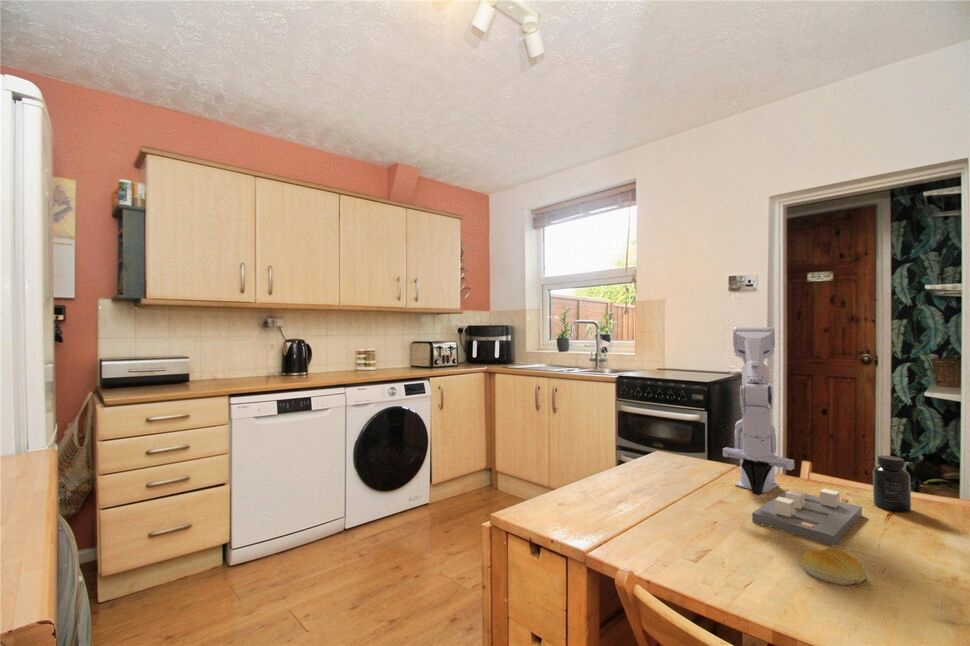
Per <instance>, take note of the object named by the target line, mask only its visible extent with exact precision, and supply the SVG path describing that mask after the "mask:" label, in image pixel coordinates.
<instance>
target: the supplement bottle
mask: <svg viewBox="0 0 970 646" xmlns="http://www.w3.org/2000/svg"><path fill="white" fill-rule="evenodd" d="M876 463H877V466H875V467H874V468H873V469H872V489H873V490H872V492H873V495H872V496H873V504H874V505H875V506H877V507H878V508H880V509H882V508H883V510H886V511H891V512H895V511H896V512H895V513H907V512H908V513H909V512H910V511H911V510H912V494H911V476H910V473H909V472H908V471H907V470H905V469H904V468H905V460H904V458H902V457H898V456H891V455H877V462H876Z"/></svg>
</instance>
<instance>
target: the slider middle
mask: <svg viewBox="0 0 970 646" xmlns="http://www.w3.org/2000/svg"><path fill="white" fill-rule="evenodd" d="M805 494H806V493H805V492H802V491H798V490H794V489H788V491H787V492H785V498H787V499H791V500H794V508H798V509H801V508H803V507H804V506H805Z"/></svg>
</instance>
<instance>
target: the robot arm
mask: <svg viewBox="0 0 970 646" xmlns="http://www.w3.org/2000/svg"><path fill="white" fill-rule="evenodd" d="M732 330H733V331H732V341H733V342H732V344H733V346H732V347H733V351H734V352H733V353H734V354H735V355H734V356H735V357H738V358H740V359H742V361H743V363H744V364H743V365H742V367H741V385H739V386H740V387H739V403H740V409H741V415H742V418H741V419H740V420H738V421H736V422H735V424H734V447H733V448H731V447H727V446H726V447H723V448H722V457H724V458H733V459H739V464H740V466H739V467H740V471H739V473H740V475H739V476H740V480H738V481H736V482H735V483H734V486H737V487H741V488H744V489H749V490H751V493H752V495H755V496H760V495H763V493H768V492H770V491H771V490H773V489H775V488H776V487H777V486H779V483H777V482H775V479H776V478H775V467H777V468H783V469H786V470H788V471H792V470H794V469H795V459H790V458H787V457H782V456H779V455H776V454H777V436H776V435H777V434H776V427H775V426H774V425H773V423H772V422H771V420H772V419H771V418H772V417H771V412H772V411H771V410H772V409H773V405H774V394H773V392H774V391H773V386H772V384H771V381H770V374H769V373H770V371H769V367H768V366H767V364H766V363H765V360H766V359H770V358H772V357H773V354H774V353H775V345H776V335H775V334H776V332H775V328H774V327H773V326H755V327H754V326H745V327H743V326H740V327H739V326H735V327H734V328H733V329H732ZM769 407H770V408H769Z"/></svg>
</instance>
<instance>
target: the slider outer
mask: <svg viewBox="0 0 970 646" xmlns="http://www.w3.org/2000/svg"><path fill="white" fill-rule="evenodd" d="M774 511H775V514H779V515H783V516H786V517H791V516H792V515H794V514H795V508H794V500H791V499H787V498H783V497H778V498H776V499H775V500H774Z"/></svg>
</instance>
